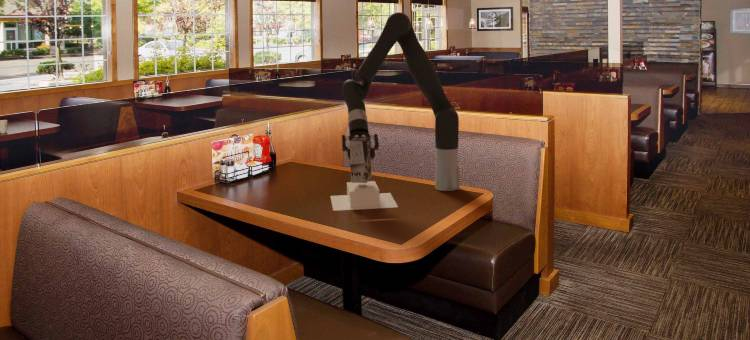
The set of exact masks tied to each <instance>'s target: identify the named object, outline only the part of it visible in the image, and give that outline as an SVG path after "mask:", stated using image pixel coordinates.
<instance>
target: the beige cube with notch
mask: <svg viewBox="0 0 750 340" xmlns="http://www.w3.org/2000/svg"><path fill="white" fill-rule="evenodd" d="M346 195H347V198H348V201H349V205H350V207H367V206H380V189H379V187H378V185H377V183H376V181H375V180H369V181H368V182H367V183H351V181H349V182H346Z"/></svg>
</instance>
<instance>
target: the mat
mask: <svg viewBox="0 0 750 340" xmlns="http://www.w3.org/2000/svg"><path fill="white" fill-rule="evenodd" d="M329 197H330V201H331V206H332V211H333V212H334V211H335V212H338V211H340V212H341V211H354V210H357V211H358V210H370V209H371V210H372V209H389V208H391V209H392V208H393V209H394V208H398V207H399V206H398V204H397V202H396V201H395V199H394V196H393V195H392V194H391V192H382V193H380V206H367V207H350V205H349V201H348V198H347V194H343V195H330V196H329Z"/></svg>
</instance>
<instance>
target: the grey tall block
mask: <svg viewBox="0 0 750 340" xmlns="http://www.w3.org/2000/svg"><path fill="white" fill-rule="evenodd" d="M371 140H372V139H370V137H354V138H353V139H352V140H350V141H349V145H350V159H349V162H350V182H351V183H367V182H368V181H371V179H372V176H373V175H372V160H371V144H372V142H371Z"/></svg>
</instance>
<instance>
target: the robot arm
mask: <svg viewBox="0 0 750 340" xmlns="http://www.w3.org/2000/svg"><path fill="white" fill-rule="evenodd" d="M396 43H398V45H399V46H400V48H401V51H402V52H403V57H404V59H405V62H406V65H407V69H408V71H409V74H410V75H411V76H412V78H413V81H414V82H415V85H416V86H417V87H418V89H419V90H420V92H421V93H422V94H423V96H424V98H425V99H426V100H427V101H428V103H429V106H430V107H431V110H432V112H433V115H434V117H435V118H434V119H435V123H434V124H435V125H434V133H435V134H434V138H435V139H434V141H435V143H434V145H435V151H434V152H435V157H434V158H435V162H434V166H435V167H434V168H435V169H434V170H435V172H434V173H435V174H434V175H435V176H434V177H435V178H434V181H435V183H434V186H435V187H434V189H435V190H437V191H441V192H452V191H457V190H459V191H460V166H459V139H460V138H459V136H460V135H459V131H460V130H459V128H460V127H459V126H460V123H459V121H460V118H459V114H458V112H457V111H456V109H455V107H454V106H453V104H452V103H451V102H450V100H449V99H448V97H447V94H446V93H445V91H444V88H443V85H442V82H441V81H440V80H441V79H440V78H439V75H438V74H437V73H438V72H437V71H436V69H435V67H434V65H433V63H432V61H431V59H430V58H429V56H428V54H427V52H426V51H425V49H424V48H423V47H422V45H421V43H420V41H419V39H418V38H417V35H416V32H415V31H414V27H413V25H412V22H411V19H410V17H409V15H407V14H406V13H404V12H399V11H398V12H393V13H391V14H390V15H389V16H388V17H387V20H386V23H385V24H384V27H383V29H382V31H381V33H380V35H379V38H378V39H377V41H376V42H375V44H374V46H373V47H372V49H371V50H370V51H369V53H368V54H367V56H366V57H365V58H364V60H362V61H363V62H362V63H361V64H360V66H359V68H358V70H357V72H356V74H357V76H358V77H359V78H360V79H361V81H360V82H358V81H356V80H354V79H347V80H345V81H344V82H343V84H342V87H341V92H342V93H341V95H342V97H343V99H344V103H345V104H346V107H347V116H348V117H347V118H348V119H347V123H348V130H349V132H348V134H349V135H347V136H346V135H345V134H343V135H341V147H342V148H341V149H342V152H346V153H347V159H348V160H350V144H348V146H347V142H348V141H349V142H350V140H352V139H353V138H354V137H370V139H371V140H372V141H373V142H374V145H373V144H372V143H371V161H373V160H374V159H375V157H376V153H375V151H379V148H380V144H379V135H378V134H377V133H375V134H373V135H371V134H370V131H369V123H368V116H367V110H366V104H365V102H364V100H365V99H366V98H367V96H368V94H369V91H370V88H371V86H372V83H373V80H374V78H375V76H376V75H377V73H378V72H379V71H380V69H381V67H382V65H383V64H384V62H385V60H386V59H387V56H388V55H389V53H390V51H391V50H392V49H393V47H394V46H395V44H396Z"/></svg>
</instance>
